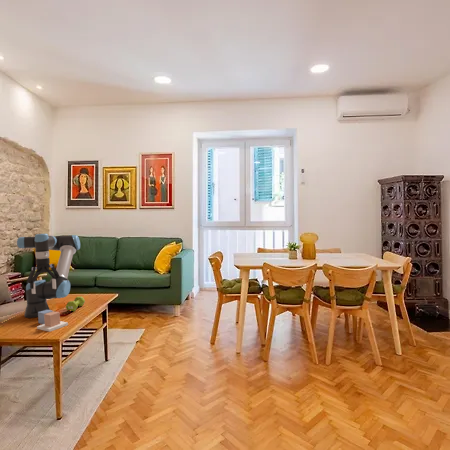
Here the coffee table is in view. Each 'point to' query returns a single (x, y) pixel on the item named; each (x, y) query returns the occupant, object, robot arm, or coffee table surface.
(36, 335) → the coffee table surface
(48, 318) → the terracotta block
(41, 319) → the slate block
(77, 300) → the dumbbell
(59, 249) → the robot arm
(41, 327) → the baseboard
